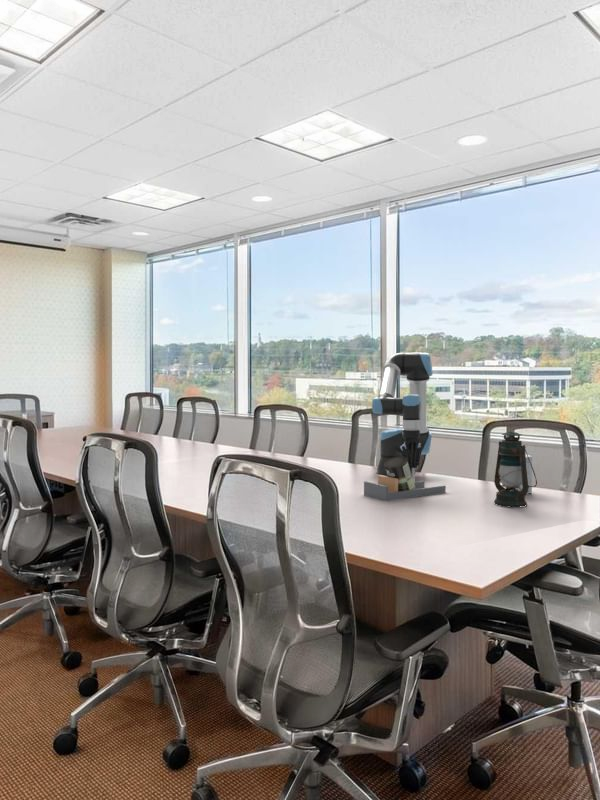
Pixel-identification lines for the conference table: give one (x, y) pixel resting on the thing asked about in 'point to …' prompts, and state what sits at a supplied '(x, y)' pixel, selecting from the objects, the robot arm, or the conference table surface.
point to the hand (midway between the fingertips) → (411, 482)
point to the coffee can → (400, 472)
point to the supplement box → (528, 474)
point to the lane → (382, 491)
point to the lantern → (511, 472)
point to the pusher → (388, 483)
